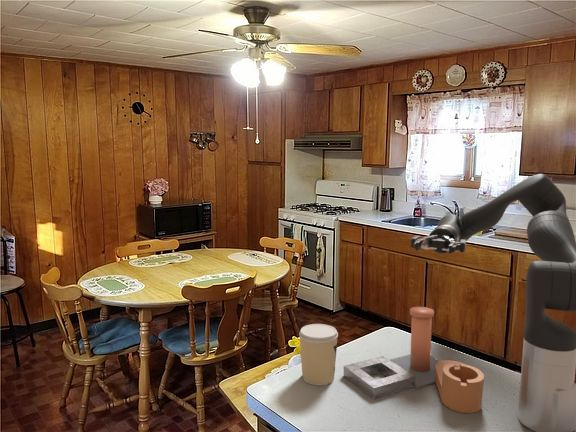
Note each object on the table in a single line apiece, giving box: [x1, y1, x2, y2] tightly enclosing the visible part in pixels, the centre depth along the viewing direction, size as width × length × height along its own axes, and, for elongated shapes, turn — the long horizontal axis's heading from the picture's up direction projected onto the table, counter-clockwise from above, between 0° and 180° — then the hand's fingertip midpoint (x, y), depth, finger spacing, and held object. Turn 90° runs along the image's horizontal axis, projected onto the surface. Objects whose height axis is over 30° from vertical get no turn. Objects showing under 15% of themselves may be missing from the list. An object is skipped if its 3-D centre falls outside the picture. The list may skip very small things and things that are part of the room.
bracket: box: [435, 359, 485, 414], centre depth 104 cm, size 18×8×7 cm, turn 170°
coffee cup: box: [298, 323, 339, 386], centre depth 110 cm, size 9×9×12 cm
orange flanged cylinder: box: [409, 306, 435, 372], centre depth 114 cm, size 6×6×15 cm
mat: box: [389, 353, 440, 389], centre depth 115 cm, size 14×14×1 cm
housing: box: [343, 355, 415, 399], centre depth 109 cm, size 12×12×2 cm
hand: (433, 248), depth 120 cm, fingers open, 8 cm apart
